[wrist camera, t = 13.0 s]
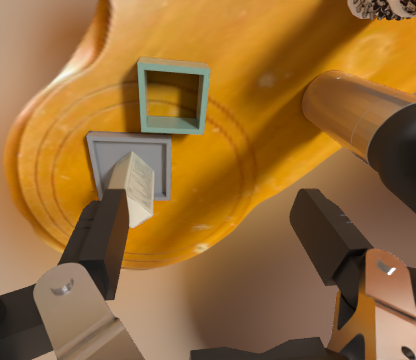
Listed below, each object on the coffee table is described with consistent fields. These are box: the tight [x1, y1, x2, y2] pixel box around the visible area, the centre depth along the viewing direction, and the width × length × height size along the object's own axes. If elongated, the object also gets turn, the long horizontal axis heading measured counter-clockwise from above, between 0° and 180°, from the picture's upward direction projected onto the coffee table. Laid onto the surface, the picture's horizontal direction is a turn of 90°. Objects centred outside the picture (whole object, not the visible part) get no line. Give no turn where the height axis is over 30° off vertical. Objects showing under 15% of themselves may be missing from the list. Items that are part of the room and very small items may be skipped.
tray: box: [86, 131, 171, 201], centre depth 44 cm, size 14×14×2 cm
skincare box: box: [108, 151, 154, 228], centre depth 39 cm, size 6×4×12 cm
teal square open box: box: [137, 57, 210, 135], centre depth 36 cm, size 10×10×5 cm
